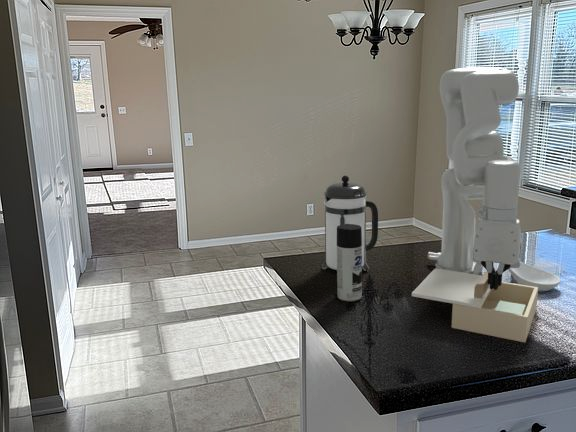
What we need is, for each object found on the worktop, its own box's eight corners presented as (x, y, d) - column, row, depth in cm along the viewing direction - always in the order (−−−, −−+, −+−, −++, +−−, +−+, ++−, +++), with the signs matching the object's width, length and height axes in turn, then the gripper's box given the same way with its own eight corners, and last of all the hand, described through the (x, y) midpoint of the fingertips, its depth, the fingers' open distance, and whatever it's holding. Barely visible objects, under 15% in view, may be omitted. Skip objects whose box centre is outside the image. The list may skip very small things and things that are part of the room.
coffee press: (368, 280, 155) (369, 180, 148) (316, 275, 160) (314, 178, 153) (377, 262, 171) (379, 171, 164) (330, 258, 176) (329, 169, 169)
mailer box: (451, 327, 124) (452, 303, 122) (470, 298, 140) (471, 277, 139) (525, 342, 116) (527, 317, 114) (536, 309, 132) (538, 287, 131)
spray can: (355, 303, 139) (355, 230, 134) (332, 299, 142) (332, 227, 138) (365, 295, 144) (366, 224, 140) (343, 291, 148) (343, 222, 143)
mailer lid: (411, 296, 127) (411, 282, 126) (434, 271, 144) (435, 259, 143) (480, 308, 119) (481, 294, 118) (496, 280, 136) (497, 268, 135)
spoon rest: (565, 287, 146) (568, 263, 145) (550, 300, 138) (552, 274, 137) (483, 269, 163) (485, 247, 161) (465, 279, 155) (467, 256, 153)
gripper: (462, 214, 123) (458, 287, 127) (532, 220, 115) (525, 298, 120) (469, 207, 129) (465, 278, 133) (536, 213, 122) (530, 287, 126)
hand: (494, 287), depth 126 cm, fingers closed
